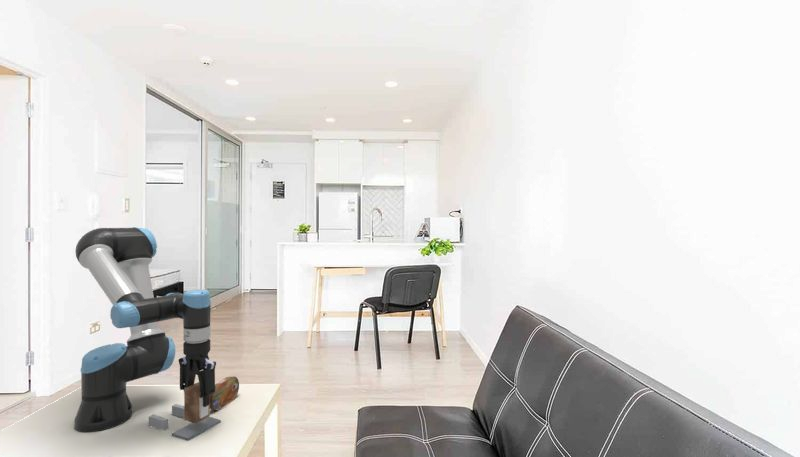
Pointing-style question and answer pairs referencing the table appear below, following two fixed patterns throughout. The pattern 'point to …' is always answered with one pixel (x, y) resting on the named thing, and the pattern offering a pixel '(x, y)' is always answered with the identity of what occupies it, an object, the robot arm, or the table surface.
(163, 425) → the cradle
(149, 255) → the robot arm
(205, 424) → the slate plate
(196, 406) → the walnut block
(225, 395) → the tin
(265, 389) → the table surface
